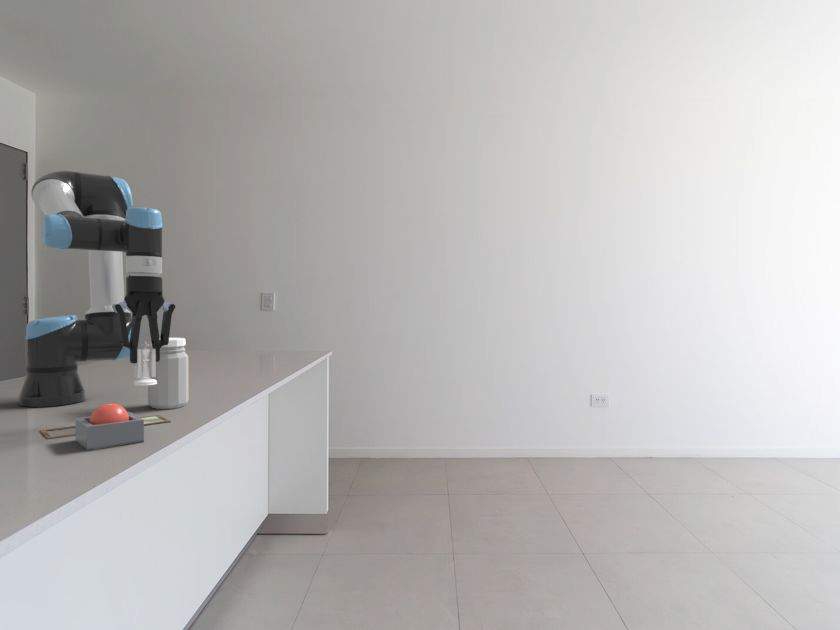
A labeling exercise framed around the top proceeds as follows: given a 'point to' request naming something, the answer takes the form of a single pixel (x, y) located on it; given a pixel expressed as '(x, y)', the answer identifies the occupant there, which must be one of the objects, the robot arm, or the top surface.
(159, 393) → the jar
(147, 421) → the brown wooden flat frame
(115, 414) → the coral red ball
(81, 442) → the housing
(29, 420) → the top surface
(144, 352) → the chess piece
